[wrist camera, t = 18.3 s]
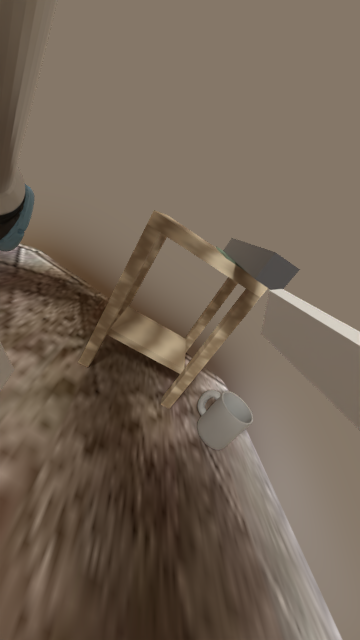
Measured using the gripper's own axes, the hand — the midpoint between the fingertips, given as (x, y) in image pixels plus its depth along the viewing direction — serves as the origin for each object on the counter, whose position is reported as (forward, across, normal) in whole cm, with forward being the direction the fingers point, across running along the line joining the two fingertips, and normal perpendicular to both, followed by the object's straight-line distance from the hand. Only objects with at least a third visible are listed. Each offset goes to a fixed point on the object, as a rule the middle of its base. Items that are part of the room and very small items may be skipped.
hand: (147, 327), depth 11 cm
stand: (+31, -3, -27) cm, 41 cm away
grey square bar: (+21, +16, -3) cm, 27 cm away
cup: (+18, +10, -36) cm, 42 cm away
